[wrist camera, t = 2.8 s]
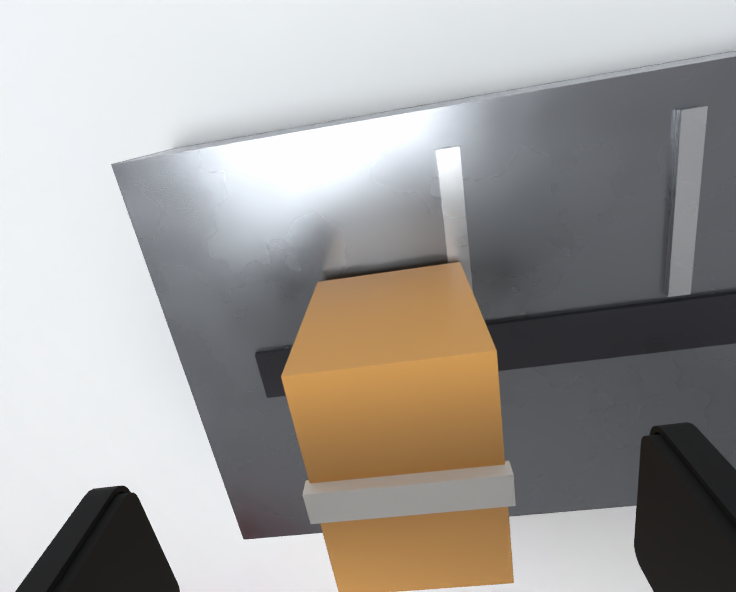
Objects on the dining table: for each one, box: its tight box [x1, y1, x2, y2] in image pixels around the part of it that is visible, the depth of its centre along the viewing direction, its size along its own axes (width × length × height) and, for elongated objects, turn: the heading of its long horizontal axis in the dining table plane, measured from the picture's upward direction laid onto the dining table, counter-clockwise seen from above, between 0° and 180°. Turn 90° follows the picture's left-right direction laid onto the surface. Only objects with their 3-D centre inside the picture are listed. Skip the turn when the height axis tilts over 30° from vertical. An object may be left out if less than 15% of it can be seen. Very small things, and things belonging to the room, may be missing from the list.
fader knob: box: [281, 262, 516, 592], centre depth 12 cm, size 4×6×5 cm
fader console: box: [111, 51, 736, 539], centre depth 16 cm, size 30×14×4 cm, turn 99°
